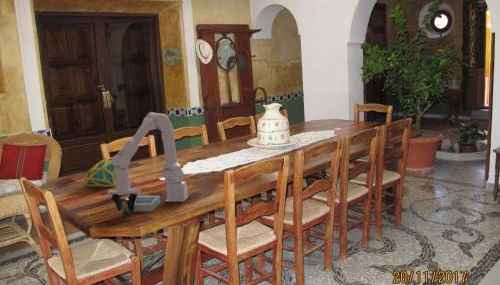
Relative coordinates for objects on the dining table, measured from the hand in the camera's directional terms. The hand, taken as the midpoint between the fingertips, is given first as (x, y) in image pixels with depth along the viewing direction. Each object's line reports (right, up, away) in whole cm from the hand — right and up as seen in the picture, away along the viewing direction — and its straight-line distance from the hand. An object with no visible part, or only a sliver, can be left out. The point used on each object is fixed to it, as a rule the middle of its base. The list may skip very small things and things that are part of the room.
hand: (126, 210), depth 209 cm
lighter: (-9, +4, +29) cm, 31 cm away
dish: (+6, 0, +8) cm, 10 cm away
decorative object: (-23, +6, +46) cm, 52 cm away
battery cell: (0, -2, 0) cm, 2 cm away
